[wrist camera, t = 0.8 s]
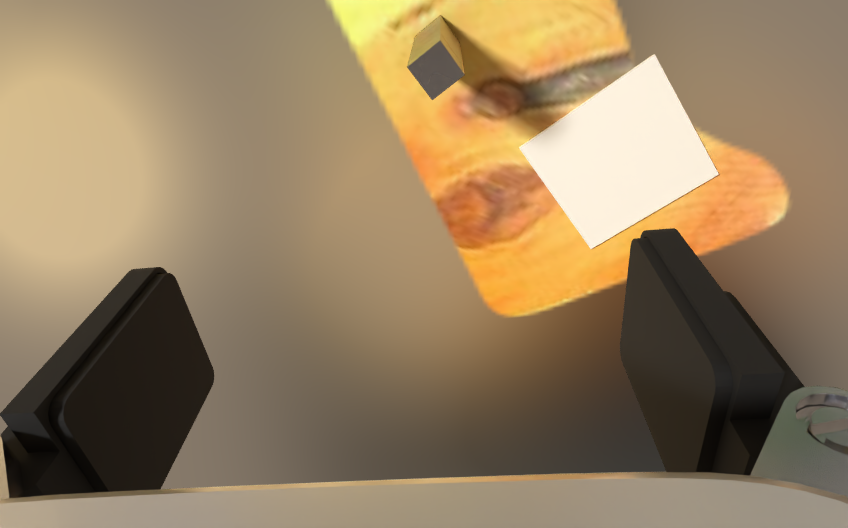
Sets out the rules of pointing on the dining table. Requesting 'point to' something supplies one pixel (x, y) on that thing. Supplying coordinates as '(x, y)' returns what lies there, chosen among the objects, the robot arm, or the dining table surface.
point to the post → (436, 58)
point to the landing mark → (621, 154)
